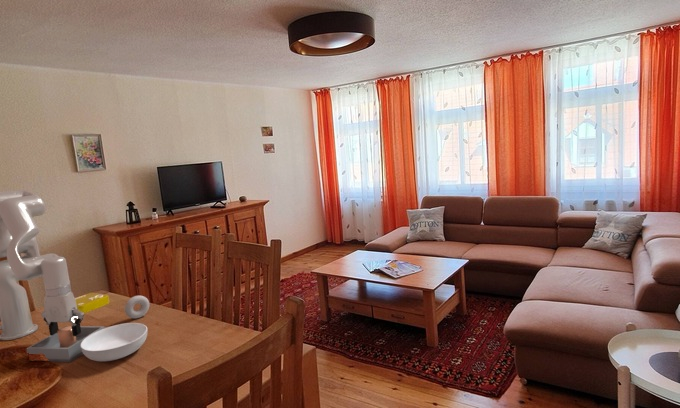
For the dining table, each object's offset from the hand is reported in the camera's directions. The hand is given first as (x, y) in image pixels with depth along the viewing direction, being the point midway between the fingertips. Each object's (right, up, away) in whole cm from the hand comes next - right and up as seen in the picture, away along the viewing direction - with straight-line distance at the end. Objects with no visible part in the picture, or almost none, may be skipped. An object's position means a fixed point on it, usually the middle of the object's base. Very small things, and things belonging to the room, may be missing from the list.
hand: (65, 334), depth 145 cm
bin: (+1, -6, +1) cm, 6 cm away
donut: (+14, -2, +25) cm, 29 cm away
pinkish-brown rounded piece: (+1, -5, 0) cm, 5 cm away
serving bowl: (+22, -5, -5) cm, 24 cm away
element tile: (-21, -2, +44) cm, 48 cm away
